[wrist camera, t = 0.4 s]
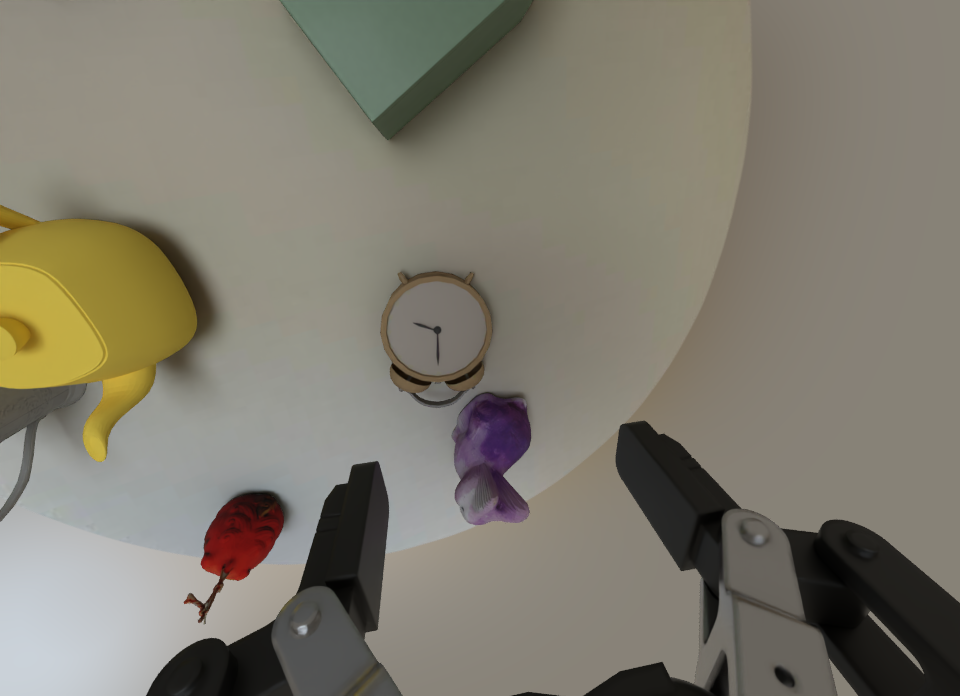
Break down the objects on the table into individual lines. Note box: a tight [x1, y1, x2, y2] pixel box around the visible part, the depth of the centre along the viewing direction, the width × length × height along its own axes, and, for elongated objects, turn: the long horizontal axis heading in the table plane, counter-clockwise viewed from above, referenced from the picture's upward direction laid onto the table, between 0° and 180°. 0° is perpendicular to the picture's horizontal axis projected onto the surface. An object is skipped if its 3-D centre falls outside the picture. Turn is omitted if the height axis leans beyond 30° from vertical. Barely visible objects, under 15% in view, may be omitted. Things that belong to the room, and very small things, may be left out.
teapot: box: [0, 205, 197, 462], centre depth 28 cm, size 13×20×12 cm
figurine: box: [452, 393, 531, 525], centre depth 39 cm, size 9×10×15 cm
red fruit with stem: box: [184, 494, 284, 624], centre depth 40 cm, size 8×7×15 cm
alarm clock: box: [380, 271, 492, 408], centre depth 38 cm, size 11×5×15 cm
